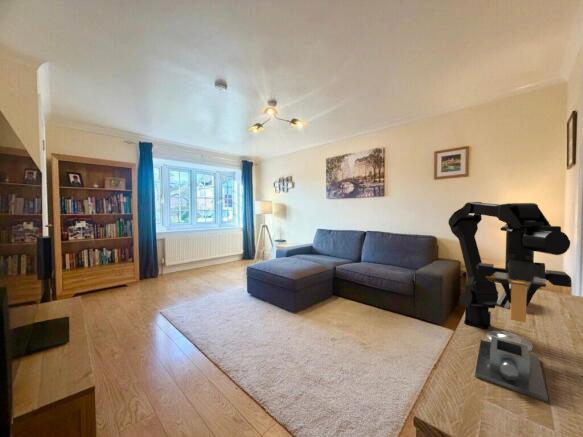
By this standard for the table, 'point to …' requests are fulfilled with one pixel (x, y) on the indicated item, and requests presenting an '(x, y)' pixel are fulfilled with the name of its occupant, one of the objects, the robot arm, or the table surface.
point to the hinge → (504, 299)
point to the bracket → (511, 364)
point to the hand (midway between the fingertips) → (518, 304)
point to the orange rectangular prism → (518, 301)
